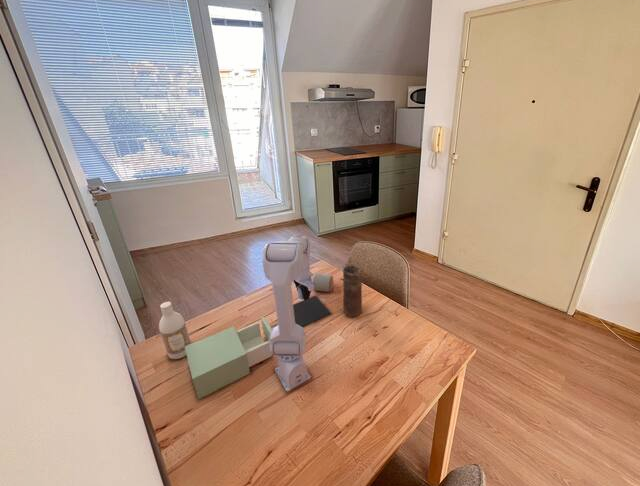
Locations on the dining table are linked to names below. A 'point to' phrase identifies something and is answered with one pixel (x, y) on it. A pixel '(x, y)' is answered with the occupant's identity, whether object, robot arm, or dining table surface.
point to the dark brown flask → (352, 290)
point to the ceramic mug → (322, 282)
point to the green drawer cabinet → (216, 361)
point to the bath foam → (173, 331)
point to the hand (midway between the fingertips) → (303, 295)
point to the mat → (309, 311)
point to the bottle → (300, 293)
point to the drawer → (256, 341)
